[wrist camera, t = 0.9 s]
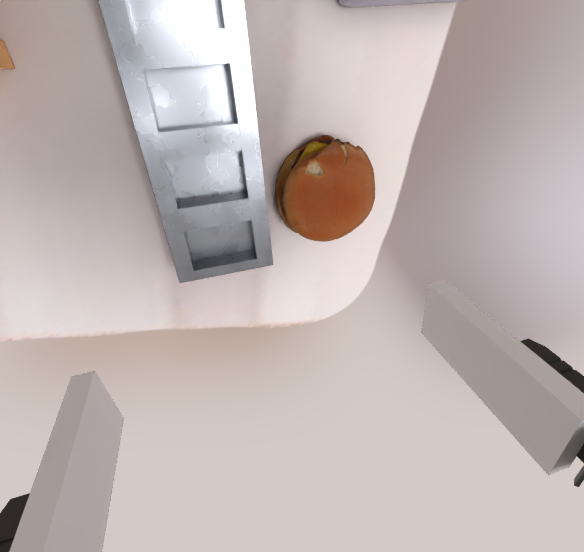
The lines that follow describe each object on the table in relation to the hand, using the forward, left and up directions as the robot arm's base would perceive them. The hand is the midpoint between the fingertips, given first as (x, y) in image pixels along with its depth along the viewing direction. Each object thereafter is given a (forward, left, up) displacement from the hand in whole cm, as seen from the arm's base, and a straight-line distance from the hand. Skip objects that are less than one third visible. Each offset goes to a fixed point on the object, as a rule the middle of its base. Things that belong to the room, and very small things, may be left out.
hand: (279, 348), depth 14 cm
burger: (+1, +9, -23) cm, 25 cm away
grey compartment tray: (-5, -1, -22) cm, 23 cm away
